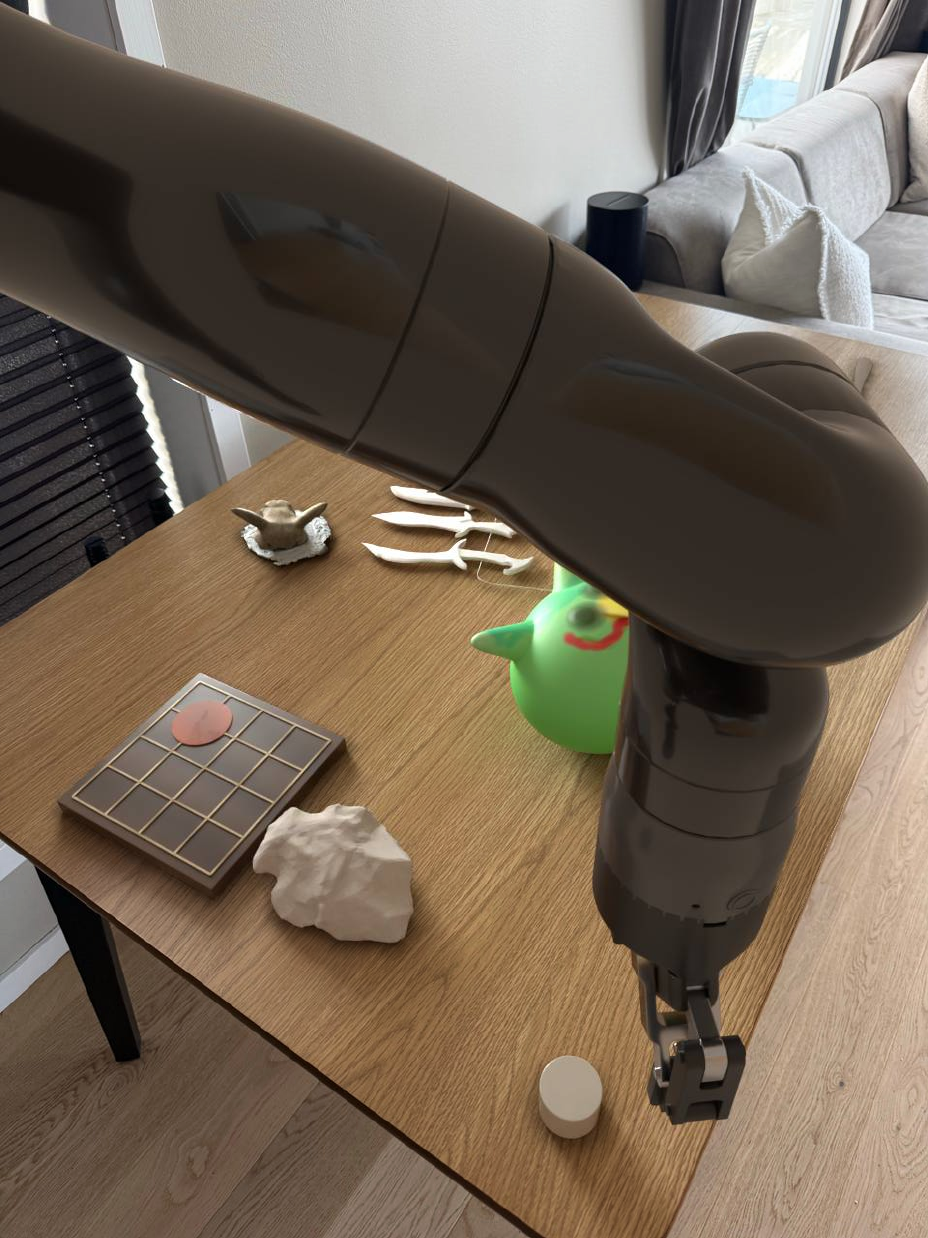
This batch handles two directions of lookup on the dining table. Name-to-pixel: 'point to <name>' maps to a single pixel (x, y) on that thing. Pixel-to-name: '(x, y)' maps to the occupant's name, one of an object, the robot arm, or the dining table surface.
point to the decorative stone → (338, 873)
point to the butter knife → (862, 372)
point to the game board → (203, 782)
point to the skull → (285, 531)
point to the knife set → (451, 524)
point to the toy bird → (567, 663)
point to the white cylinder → (570, 1096)
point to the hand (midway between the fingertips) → (648, 1012)
